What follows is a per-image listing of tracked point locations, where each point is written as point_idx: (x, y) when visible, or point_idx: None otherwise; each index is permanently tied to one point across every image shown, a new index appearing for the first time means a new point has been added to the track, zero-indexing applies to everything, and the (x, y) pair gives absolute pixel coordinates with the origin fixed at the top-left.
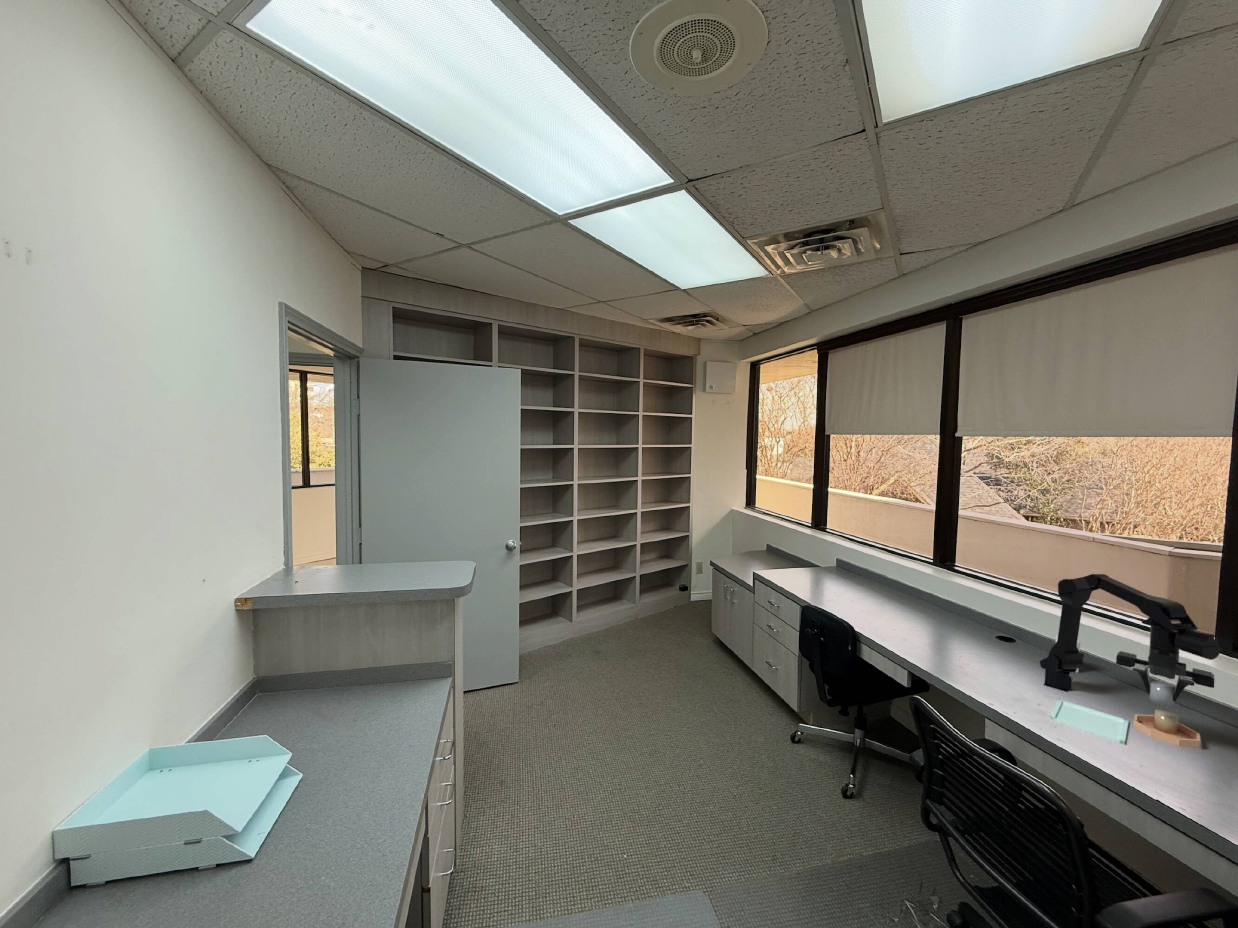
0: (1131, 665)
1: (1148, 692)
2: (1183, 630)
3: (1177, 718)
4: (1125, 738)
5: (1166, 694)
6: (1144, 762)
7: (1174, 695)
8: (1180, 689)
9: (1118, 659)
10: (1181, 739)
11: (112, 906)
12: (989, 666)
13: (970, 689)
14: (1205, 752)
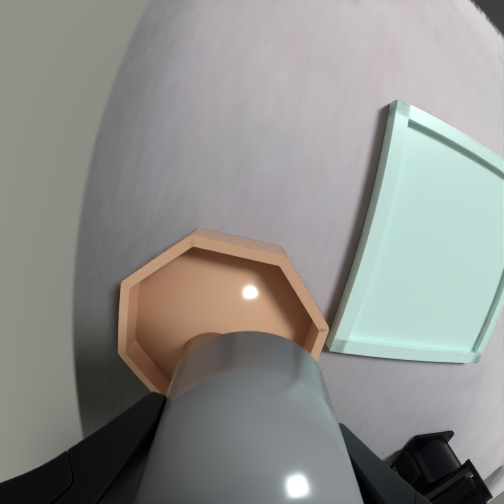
0: None
1: (344, 430)
2: None
3: (169, 387)
4: (389, 142)
5: (223, 410)
6: (346, 16)
7: (144, 428)
8: (54, 479)
9: None
10: (184, 240)
11: None
12: (500, 435)
13: None
14: (123, 253)
